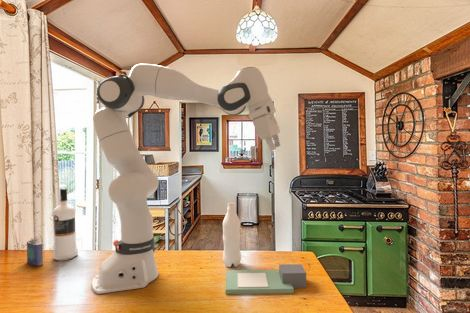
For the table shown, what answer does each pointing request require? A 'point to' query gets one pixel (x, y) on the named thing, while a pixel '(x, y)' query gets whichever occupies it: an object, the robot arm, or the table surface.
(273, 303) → the table surface
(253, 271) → the green board with pad
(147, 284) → the robot arm
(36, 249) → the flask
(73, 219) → the vodka
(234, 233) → the water bottle
